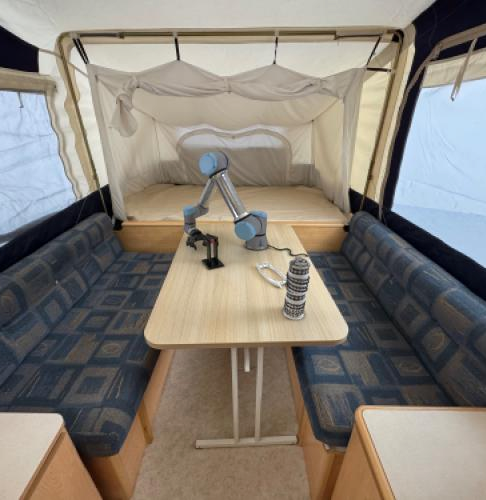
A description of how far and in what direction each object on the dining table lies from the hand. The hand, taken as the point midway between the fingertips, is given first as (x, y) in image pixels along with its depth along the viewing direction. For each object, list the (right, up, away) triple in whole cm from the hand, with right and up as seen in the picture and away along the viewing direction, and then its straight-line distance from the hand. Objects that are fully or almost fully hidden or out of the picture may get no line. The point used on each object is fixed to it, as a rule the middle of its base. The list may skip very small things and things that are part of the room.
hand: (207, 246), depth 154 cm
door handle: (+35, -16, -14) cm, 41 cm away
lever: (+1, 0, -3) cm, 3 cm away
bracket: (+3, -10, -3) cm, 11 cm away
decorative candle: (+41, -29, -42) cm, 65 cm away
